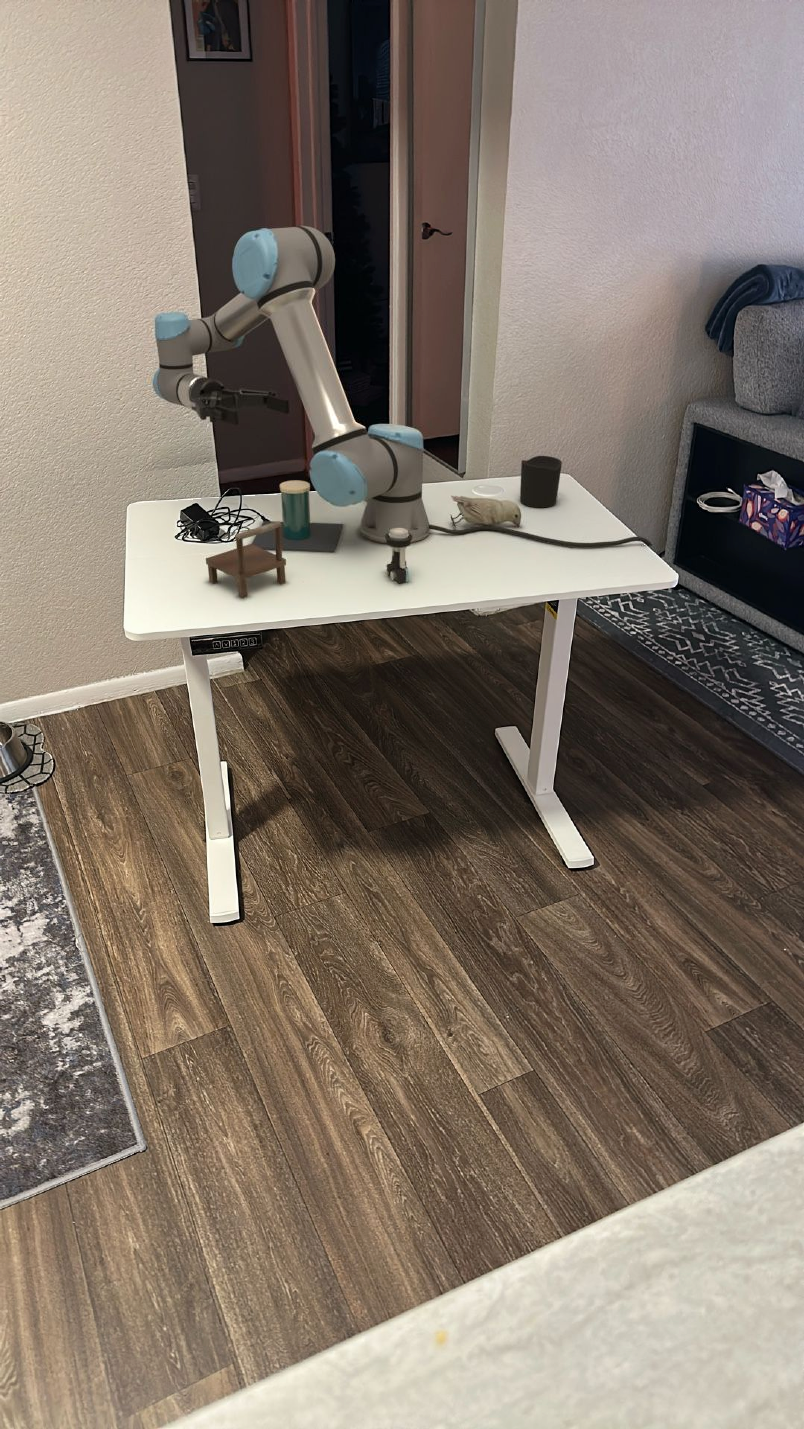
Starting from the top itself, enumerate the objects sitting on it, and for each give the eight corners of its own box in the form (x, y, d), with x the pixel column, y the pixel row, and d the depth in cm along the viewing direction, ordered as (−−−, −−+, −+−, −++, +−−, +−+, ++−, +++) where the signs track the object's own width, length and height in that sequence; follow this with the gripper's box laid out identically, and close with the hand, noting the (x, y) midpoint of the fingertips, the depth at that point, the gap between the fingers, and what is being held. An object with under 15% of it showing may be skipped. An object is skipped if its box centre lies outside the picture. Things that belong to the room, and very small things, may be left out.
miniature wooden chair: (207, 582, 187) (201, 520, 180) (252, 566, 193) (248, 507, 187) (242, 599, 180) (237, 536, 174) (287, 582, 187) (283, 521, 180)
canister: (313, 530, 210) (311, 480, 204) (309, 541, 205) (307, 490, 199) (285, 529, 211) (282, 479, 205) (280, 540, 205) (277, 489, 199)
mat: (342, 525, 214) (342, 523, 214) (334, 552, 201) (333, 550, 200) (263, 522, 215) (263, 521, 215) (249, 549, 201) (249, 547, 201)
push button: (376, 574, 191) (376, 527, 186) (398, 569, 193) (399, 522, 188) (394, 586, 186) (394, 538, 181) (416, 580, 189) (417, 532, 183)
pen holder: (559, 509, 225) (564, 467, 220) (520, 508, 225) (523, 467, 220) (554, 496, 233) (559, 455, 228) (516, 495, 233) (519, 455, 228)
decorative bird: (522, 531, 213) (524, 498, 209) (450, 532, 212) (452, 500, 208) (517, 522, 217) (520, 490, 213) (448, 523, 216) (449, 491, 212)
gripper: (248, 402, 223) (308, 419, 210) (157, 421, 207) (215, 441, 195) (246, 369, 219) (306, 384, 206) (153, 385, 203) (212, 404, 191)
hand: (262, 412), depth 200 cm, fingers open, 13 cm apart
